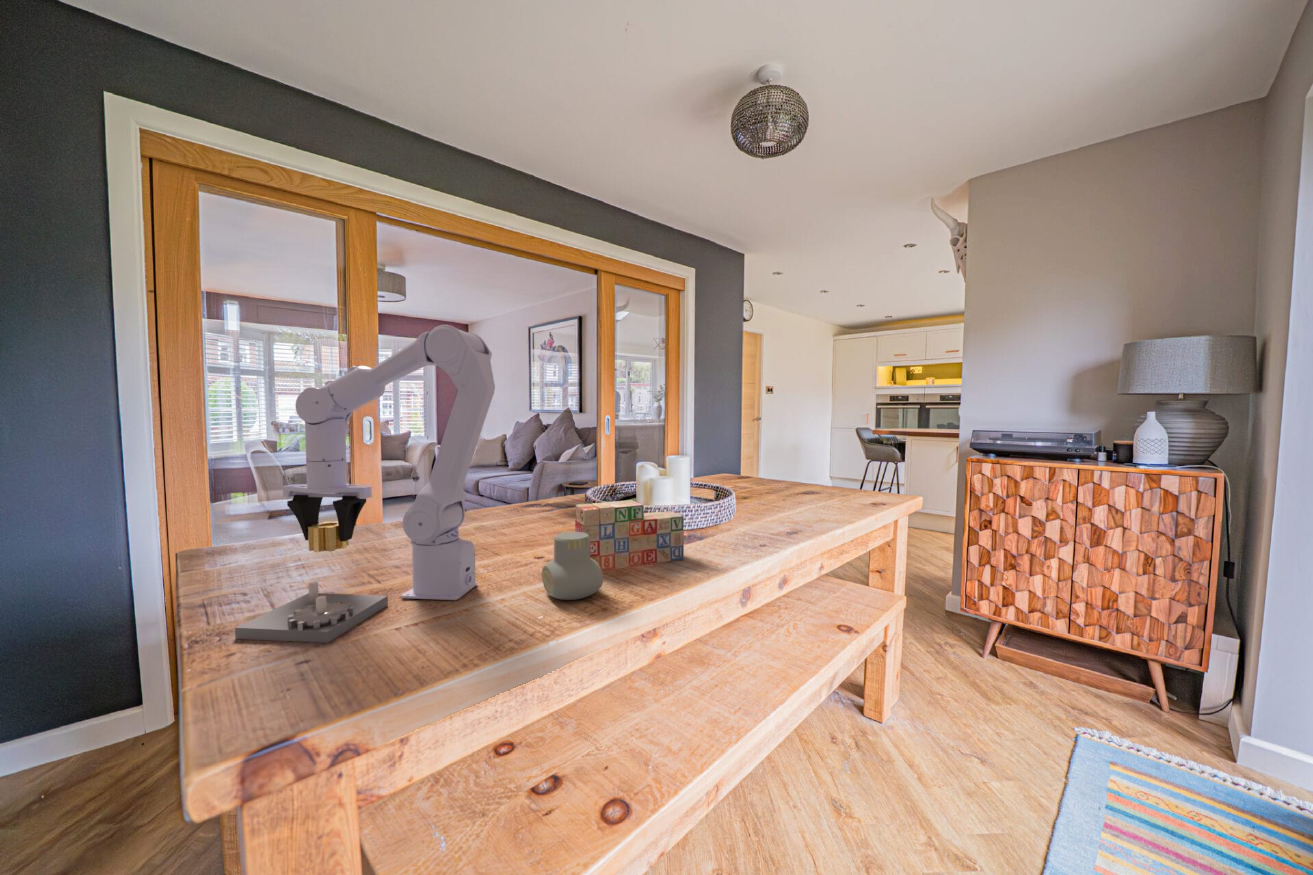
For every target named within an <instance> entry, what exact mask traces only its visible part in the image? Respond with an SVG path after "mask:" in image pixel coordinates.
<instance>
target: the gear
mask: <svg viewBox="0 0 1313 875" xmlns="http://www.w3.org/2000/svg"><path fill="white" fill-rule="evenodd" d="M350 615H353V607H352V604H351V603H347V604H343V602H340V601H338V602H336V603H328V602H326V612H324V613H316V606H313V605H310V606H307V608H305V609H303V610H296V611H294V615H289V616H288V617H287V618H288V624H289V628H290V629H292V628H296V627H297V628H298V630H299V631H303V630H305V629H310V628H314V630H317V629H320V628H321V627H324V626H328V625H330V626H334V625H337V622H340V621H346V620H348V619H349V616H350Z"/></svg>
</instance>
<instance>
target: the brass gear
mask: <svg viewBox="0 0 1313 875" xmlns="http://www.w3.org/2000/svg"><path fill="white" fill-rule="evenodd" d="M307 541H308V542H307V543H308V544H307V545H308V551H309V552H311V551H313V552H314V553H321V552H335V551H336V550H340V549H341V550H342V549H343V550H344V549H346V548H347V547H348V546H349V545H350V544H349V543H350V539H349V540H347V541H340V538H339V526H338V520H336V521H323V522H319V523H318V524H311V526H308V540H307Z"/></svg>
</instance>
